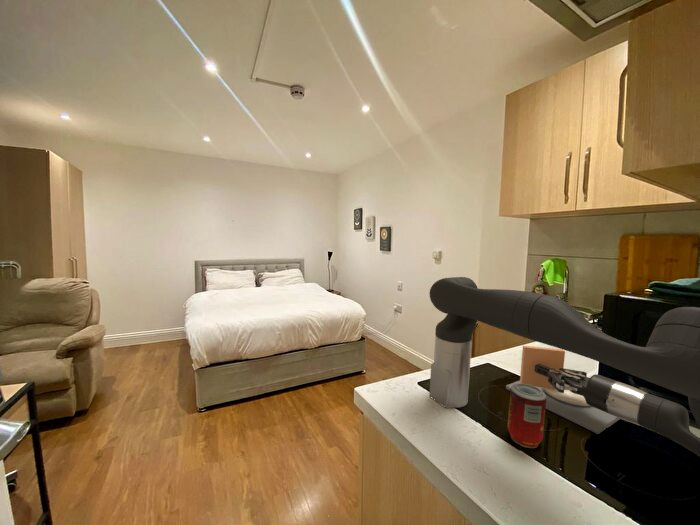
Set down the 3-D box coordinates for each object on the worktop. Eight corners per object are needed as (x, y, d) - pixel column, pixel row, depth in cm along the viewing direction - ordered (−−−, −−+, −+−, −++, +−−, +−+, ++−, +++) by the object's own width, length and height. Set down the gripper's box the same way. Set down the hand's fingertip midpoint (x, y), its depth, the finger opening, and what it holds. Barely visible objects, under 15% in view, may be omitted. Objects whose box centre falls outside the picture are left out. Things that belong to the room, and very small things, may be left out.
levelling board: (595, 436, 65) (596, 424, 65) (502, 389, 84) (503, 380, 84) (636, 407, 77) (637, 397, 77) (547, 372, 96) (547, 364, 96)
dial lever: (580, 385, 85) (584, 345, 84) (606, 409, 74) (612, 363, 73) (513, 377, 89) (516, 339, 88) (528, 398, 78) (532, 354, 76)
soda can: (549, 450, 60) (554, 397, 59) (518, 450, 60) (522, 396, 59) (529, 429, 67) (533, 381, 66) (500, 429, 67) (504, 380, 66)
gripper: (630, 376, 68) (550, 350, 83) (605, 389, 62) (523, 358, 77) (626, 406, 69) (547, 375, 84) (601, 423, 62) (521, 385, 78)
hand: (536, 367), depth 80 cm, fingers closed
